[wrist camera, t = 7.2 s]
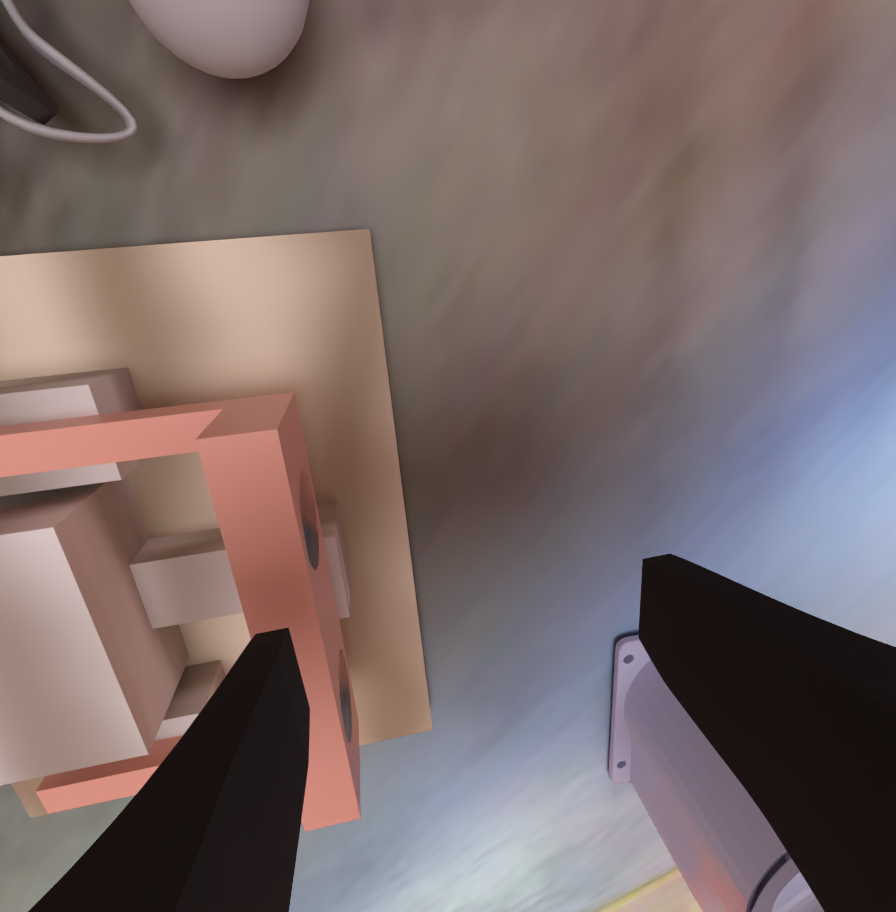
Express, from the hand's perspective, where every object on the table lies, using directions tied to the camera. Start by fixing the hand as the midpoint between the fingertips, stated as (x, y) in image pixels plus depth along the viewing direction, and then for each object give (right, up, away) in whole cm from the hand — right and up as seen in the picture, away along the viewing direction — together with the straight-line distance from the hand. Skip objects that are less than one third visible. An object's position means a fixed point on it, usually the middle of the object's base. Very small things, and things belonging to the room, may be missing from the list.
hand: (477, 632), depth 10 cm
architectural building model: (-10, 0, +8) cm, 13 cm away
